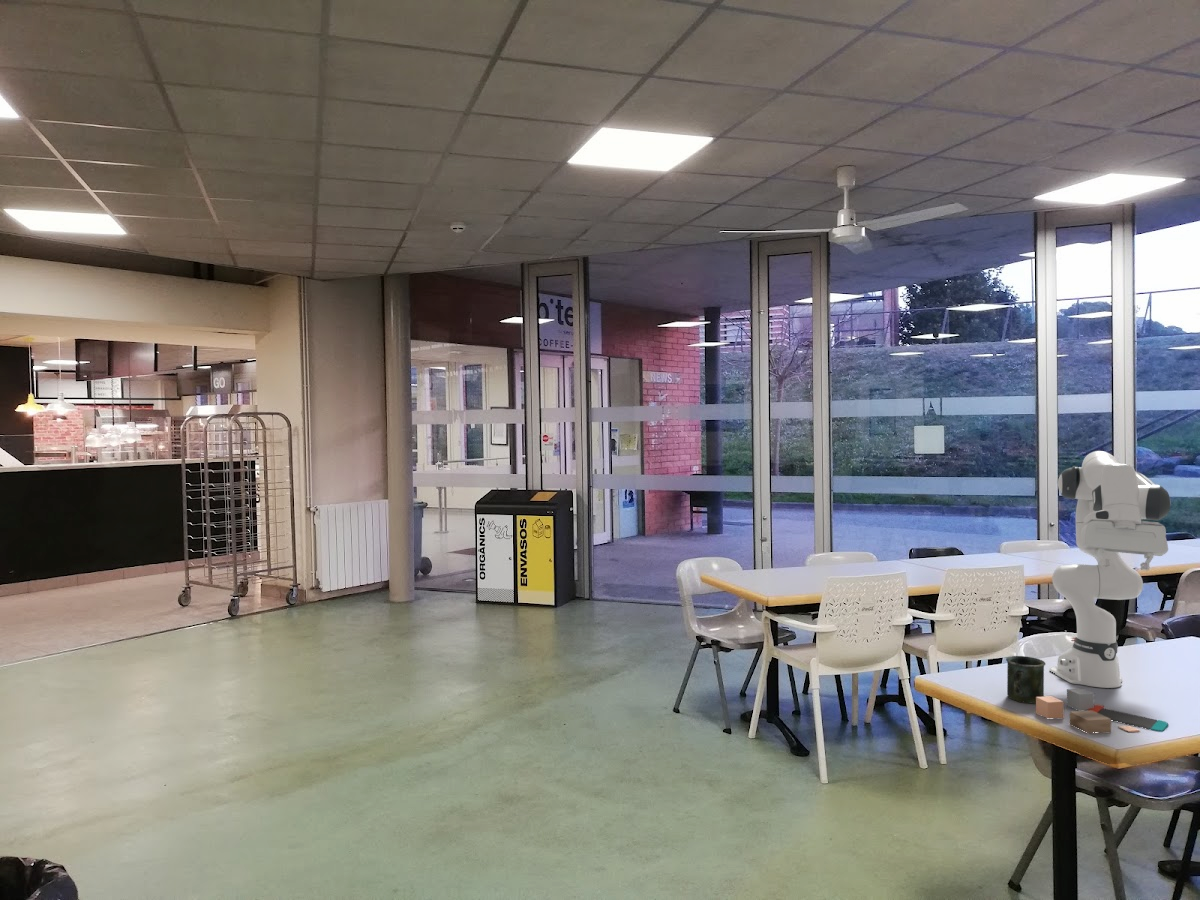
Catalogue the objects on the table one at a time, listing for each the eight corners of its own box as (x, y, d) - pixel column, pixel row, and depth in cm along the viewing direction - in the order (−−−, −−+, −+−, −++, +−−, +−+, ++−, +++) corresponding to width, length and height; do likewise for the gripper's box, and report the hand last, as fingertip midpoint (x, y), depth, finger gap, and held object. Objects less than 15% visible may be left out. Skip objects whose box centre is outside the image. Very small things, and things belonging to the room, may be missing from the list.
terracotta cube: (1035, 713, 237) (1036, 696, 237) (1051, 712, 238) (1051, 696, 237) (1047, 719, 232) (1047, 702, 232) (1063, 718, 233) (1063, 701, 233)
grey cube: (1066, 705, 244) (1066, 689, 244) (1081, 704, 244) (1081, 688, 244) (1078, 710, 239) (1079, 694, 239) (1094, 710, 240) (1094, 693, 239)
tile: (1118, 727, 225) (1118, 726, 225) (1129, 727, 225) (1129, 725, 225) (1128, 732, 221) (1128, 730, 221) (1139, 731, 222) (1139, 730, 222)
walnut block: (1069, 725, 227) (1069, 711, 227) (1092, 724, 228) (1092, 710, 228) (1087, 734, 220) (1087, 720, 220) (1110, 733, 221) (1110, 719, 221)
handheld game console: (1161, 734, 222) (1170, 724, 228) (1161, 731, 221) (1170, 720, 228) (1083, 717, 236) (1094, 707, 242) (1083, 713, 236) (1094, 703, 242)
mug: (1049, 698, 250) (1049, 660, 250) (1036, 710, 240) (1036, 670, 240) (1012, 690, 258) (1012, 653, 258) (997, 701, 247) (997, 663, 247)
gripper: (1159, 525, 221) (1164, 575, 216) (1077, 519, 226) (1079, 566, 221) (1169, 519, 215) (1174, 569, 210) (1084, 512, 220) (1087, 561, 215)
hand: (1125, 568), depth 215 cm, fingers open, 8 cm apart
